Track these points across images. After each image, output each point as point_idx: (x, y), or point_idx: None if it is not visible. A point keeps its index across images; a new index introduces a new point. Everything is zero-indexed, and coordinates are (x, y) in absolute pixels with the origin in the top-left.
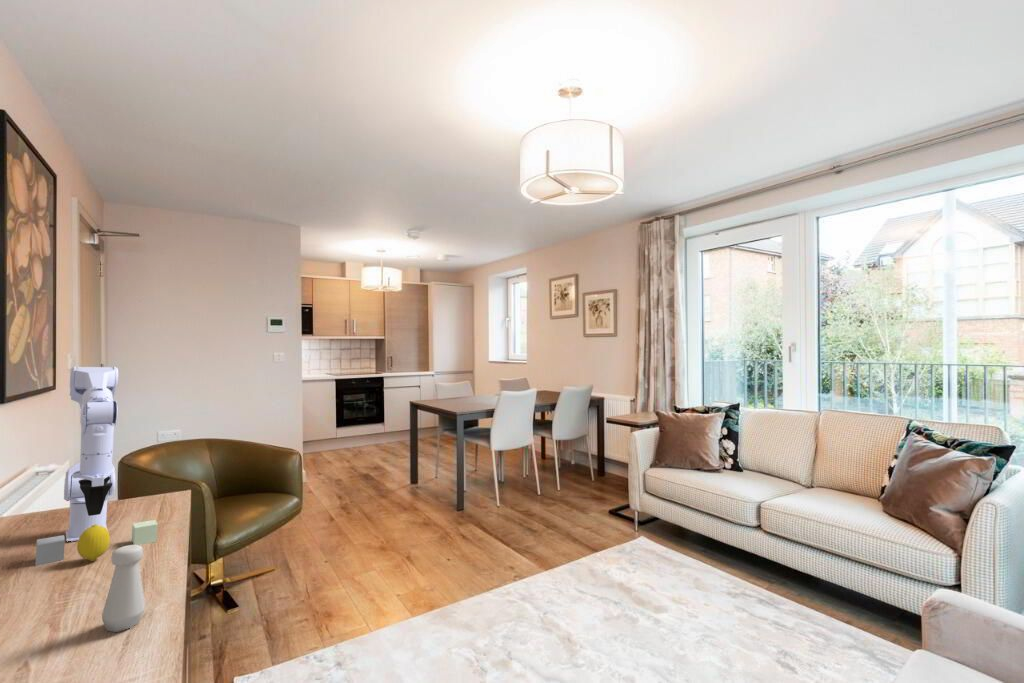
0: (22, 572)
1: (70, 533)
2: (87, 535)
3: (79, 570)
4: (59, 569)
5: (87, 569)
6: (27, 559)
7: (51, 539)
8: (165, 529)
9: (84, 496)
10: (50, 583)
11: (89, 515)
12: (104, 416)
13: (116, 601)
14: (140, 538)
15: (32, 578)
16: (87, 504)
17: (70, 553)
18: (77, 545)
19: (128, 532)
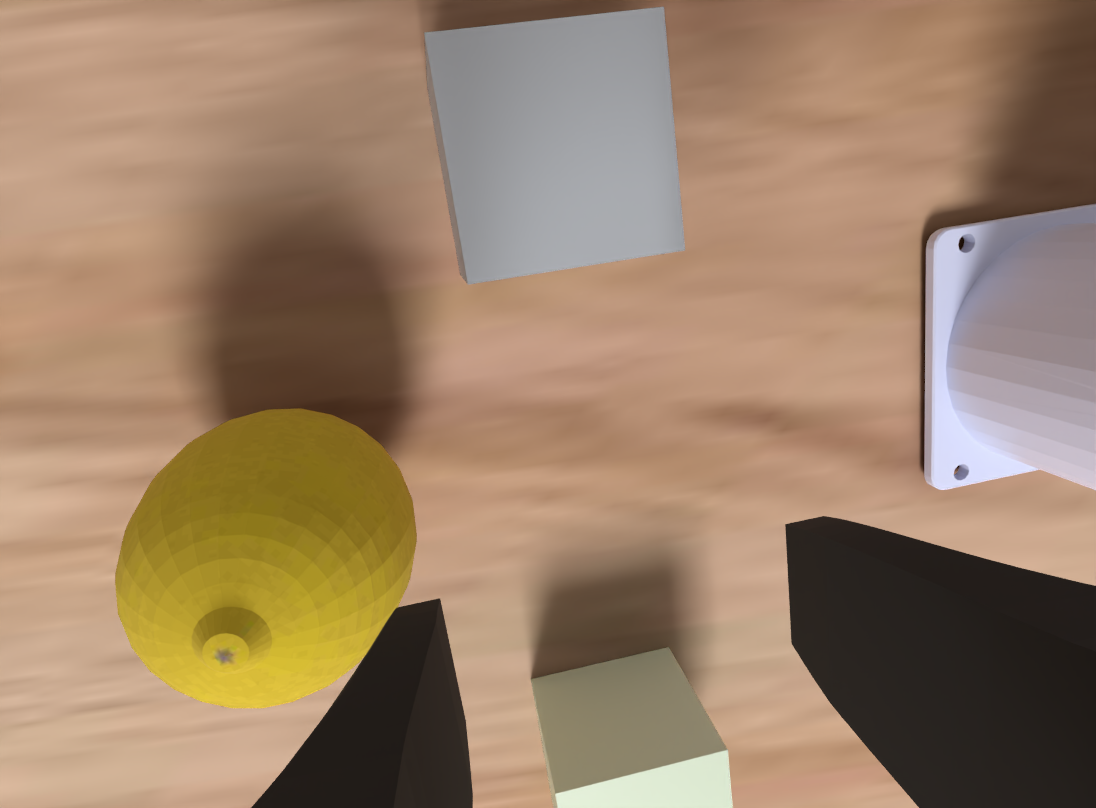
0: (290, 15)
1: (1042, 243)
2: (127, 555)
3: (116, 423)
4: (222, 281)
5: (113, 473)
6: (650, 4)
7: (580, 152)
8: (826, 797)
9: (1027, 584)
10: None
11: (386, 622)
12: None
13: None
14: (544, 750)
15: (71, 117)
16: (307, 747)
17: (621, 297)
18: (246, 420)
19: None
